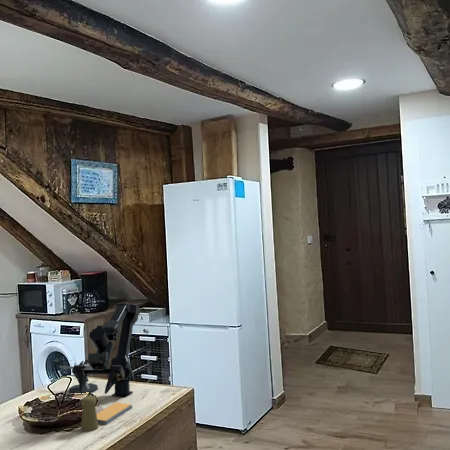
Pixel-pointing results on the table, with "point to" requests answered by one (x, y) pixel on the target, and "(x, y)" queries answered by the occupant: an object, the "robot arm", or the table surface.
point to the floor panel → (112, 412)
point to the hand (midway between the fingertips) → (93, 393)
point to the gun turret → (87, 387)
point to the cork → (89, 414)
